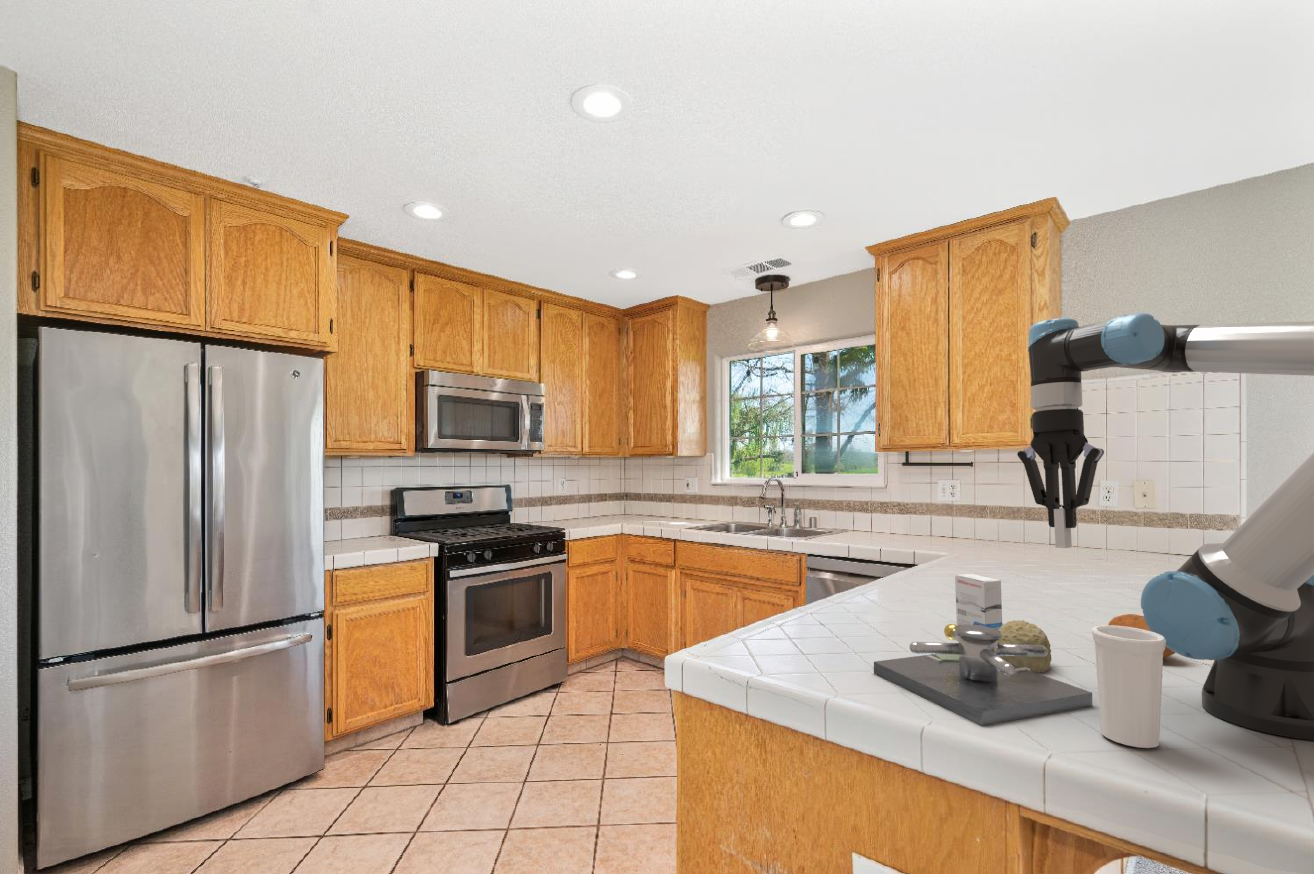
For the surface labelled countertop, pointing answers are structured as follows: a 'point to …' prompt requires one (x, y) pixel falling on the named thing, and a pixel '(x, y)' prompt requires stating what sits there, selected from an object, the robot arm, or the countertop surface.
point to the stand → (982, 689)
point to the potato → (1136, 626)
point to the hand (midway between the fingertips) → (1063, 547)
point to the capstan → (978, 651)
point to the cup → (1129, 683)
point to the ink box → (978, 601)
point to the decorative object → (1025, 636)
